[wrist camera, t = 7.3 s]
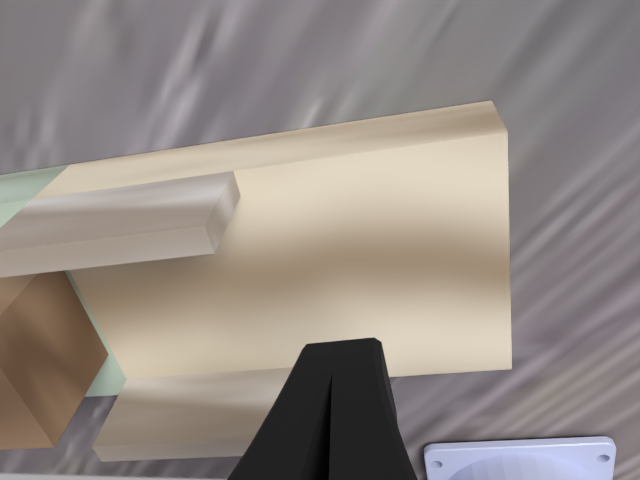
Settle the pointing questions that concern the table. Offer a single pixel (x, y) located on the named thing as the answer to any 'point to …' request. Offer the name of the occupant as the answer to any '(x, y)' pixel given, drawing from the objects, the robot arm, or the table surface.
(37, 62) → the table surface
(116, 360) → the board
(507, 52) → the table surface
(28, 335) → the walnut block
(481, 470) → the robot arm
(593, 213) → the table surface
